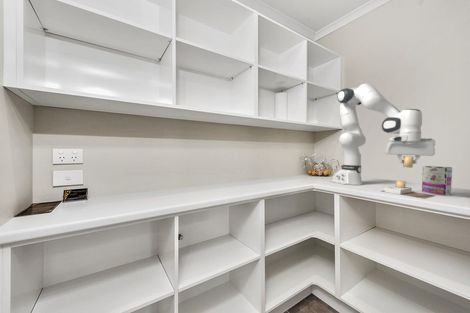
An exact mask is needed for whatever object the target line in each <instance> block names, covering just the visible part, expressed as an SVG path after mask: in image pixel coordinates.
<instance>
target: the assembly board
mask: <svg viewBox="0 0 470 313" xmlns="http://www.w3.org/2000/svg"><path fill="white" fill-rule="evenodd" d="M381 192H383V193H388V194H390V193H389V192H385V189H384V190H381ZM392 194H394V195H396V194H395V193H392ZM398 195H400V196H406V197H413V198H418V199H424V200H426V199H429V198H433V197H436V194H435V195H434V194H427V193H420V192H415V191H412V192H409V193H405V194H398Z"/></svg>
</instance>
